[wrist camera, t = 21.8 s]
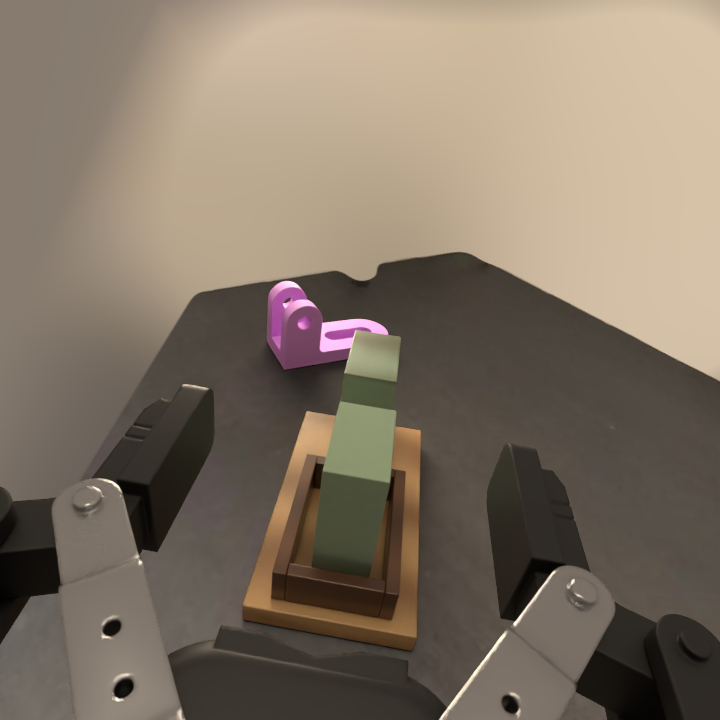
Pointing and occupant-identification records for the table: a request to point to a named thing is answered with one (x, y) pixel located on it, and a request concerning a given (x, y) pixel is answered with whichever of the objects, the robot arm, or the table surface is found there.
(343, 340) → the bracket
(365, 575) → the green rectangular block
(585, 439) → the table surface
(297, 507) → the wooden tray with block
